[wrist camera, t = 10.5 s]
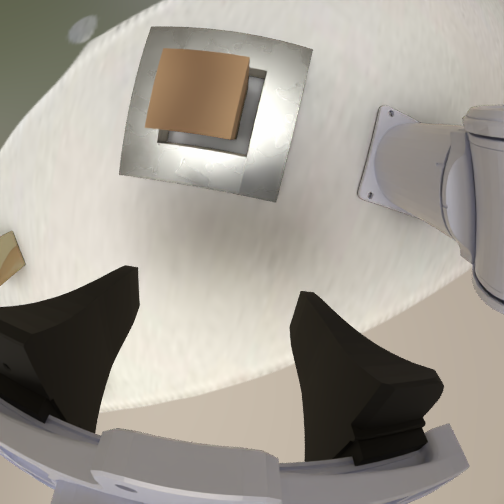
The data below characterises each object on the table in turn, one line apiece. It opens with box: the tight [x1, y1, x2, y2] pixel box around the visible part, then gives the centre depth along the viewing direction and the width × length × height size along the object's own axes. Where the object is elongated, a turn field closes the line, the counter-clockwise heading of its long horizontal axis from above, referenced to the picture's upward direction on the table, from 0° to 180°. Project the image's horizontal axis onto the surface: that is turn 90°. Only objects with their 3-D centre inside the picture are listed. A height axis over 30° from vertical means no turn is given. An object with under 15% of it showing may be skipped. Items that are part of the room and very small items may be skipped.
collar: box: [119, 27, 313, 202], centre depth 16 cm, size 11×11×2 cm
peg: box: [145, 48, 250, 140], centre depth 14 cm, size 4×4×8 cm
